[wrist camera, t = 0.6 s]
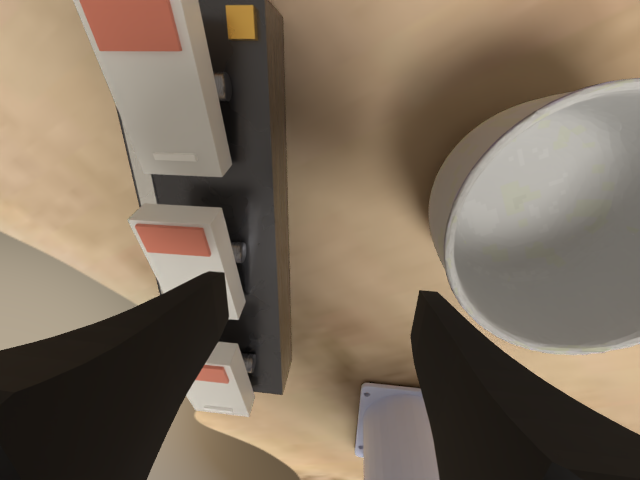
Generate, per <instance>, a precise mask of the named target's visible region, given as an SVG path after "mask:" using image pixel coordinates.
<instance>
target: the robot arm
mask: <svg viewBox="0 0 640 480" xmlns="http://www.w3.org/2000/svg"><path fill="white" fill-rule="evenodd" d="M228 319H229V310H228V300H227V291H226V282H225V273H224V272H213V271H208V272H206V273H203V274H201V275H199V276H197V277H195V278H193V279H191V280H189V281H187V282H185V283H183V284H181V285H179V286H177V287H175V288H173V289H171V290H169V291H168V292H166V293H164V294H162V295H160V296H158V297H155V298H153V299H151V300H149V301H147V302H145V303H143V304H141V305H138V306H136V307H134V308H132V309H130V310H127V311H125V312H123V313H120V314H118V315H116V316H113V317H110V318H107V319H105V320H102V321H100V322H97V323H94V324H92V325H88V326H86V327H82V328H79V329H76V330H73V331H70V332H67V333H64V334H61V335H58V336H55V337H51V338H48V339H44V340H40V341H37V342H33V343H29V344H25V345H21V346H17V347H13V348H9V349H5V350H1V351H0V480H147V477H148V475H149V473H150V470H151V468H152V466H153V463H154V461H155V459H156V457H157V454H158V452H159V450H160V448H161V445H162V443H163V441H164V439H165V437H166V435H167V432H168V430H169V428H170V426H171V424H172V422H173V420H174V418H175V416H176V414H177V411H178V410H179V407H180V405H181V404H182V402H183V400H184V398H185V396H186V394H187V393H188V391H189V389H190V388H191V386H192V384H193V383H194V381H195V380H196V378H197V376H198V375H199V373H200V371H201V370H202V368H203V366H204V365H205V363H206V361H207V360H208V358H209V357H210V355H211V353H212V351H213V350H214V348H215V346H216V345H217V343H218V341H219V339H220V337H221V335H222V333H223V331H224V328H225V326H226V323H227V321H228ZM411 344H412V352H413V359H414V365H415V369H416V373H417V377H418V380H419V384H420V388H412V387H403V386H394V385H385V384H375V383H363V384H362V386H361V394H360V404H359V414H358V424H357V433H356V443H355V455H356V456H358V457H364V480H640V435H639V434H637V433H635V432H633V431H631V430H629V429H627V428H625V427H623V426H621V425H620V424H618V423H616V422H614V421H612V420H610V419H609V418H607V417H605V416H603V415H601V414H599V413H597V412H596V411H594V410H592V409H590V408H589V407H587V406H585V405H583V404H582V403H580V402H578V401H576V400H575V399H573V398H571V397H570V396H568V395H567V394H565V393H563V392H562V391H560V390H559V389H557V388H555V387H554V386H552V385H551V384H549V383H547V382H546V381H544V380H543V379H541V378H540V377H538V376H537V375H535V374H534V373H532V372H531V371H530V370H528V369H527V368H525V367H524V366H523V365H521V364H520V363H518V362H517V361H516V360H514V359H513V358H511V357H510V356H509V355H508V354H506V353H505V352H504V351H502V350H501V349H500V348H499V347H497V346H496V345H495V344H494V343H493V342H491V341H490V340H489V339H488V338H487V337H485V336H484V335H483V334H482V333H481V332H480V331H479V330H477V329H476V328H475V327H474V326H473V325H472V324H471V323H470V322H469V321H467V320H466V319H465V318H464V317H463V316H462V315H461V314H460V313H459V312H458V311H457V310H456V309H455V308H454V307H453V306H452V305H451V304H450V303H449V302H448V301H447V300H446V299H444V298H443V297H442V296H441V295H440V294H439V293H438V292H432V291H422V290H419V295H418V301H417V306H416V311H415V316H414V321H413V326H412V331H411Z"/></svg>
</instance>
